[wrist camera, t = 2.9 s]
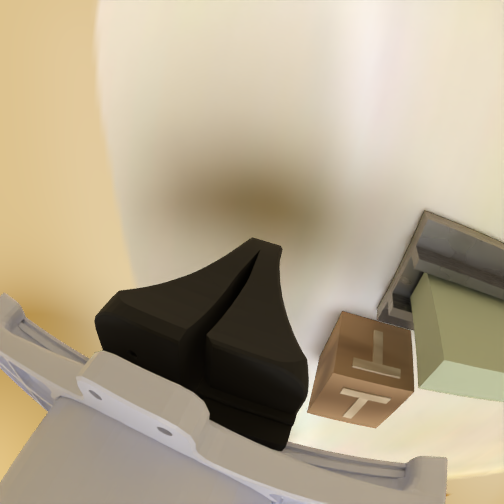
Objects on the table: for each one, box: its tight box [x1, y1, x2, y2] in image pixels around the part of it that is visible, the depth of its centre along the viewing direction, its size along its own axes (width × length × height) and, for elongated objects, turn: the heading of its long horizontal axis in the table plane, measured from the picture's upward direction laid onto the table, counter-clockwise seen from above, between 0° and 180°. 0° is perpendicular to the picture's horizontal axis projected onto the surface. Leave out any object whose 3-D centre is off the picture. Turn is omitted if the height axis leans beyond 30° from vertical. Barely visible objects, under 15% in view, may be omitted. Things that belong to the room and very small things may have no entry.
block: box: [307, 311, 414, 428], centre depth 18 cm, size 5×5×5 cm
